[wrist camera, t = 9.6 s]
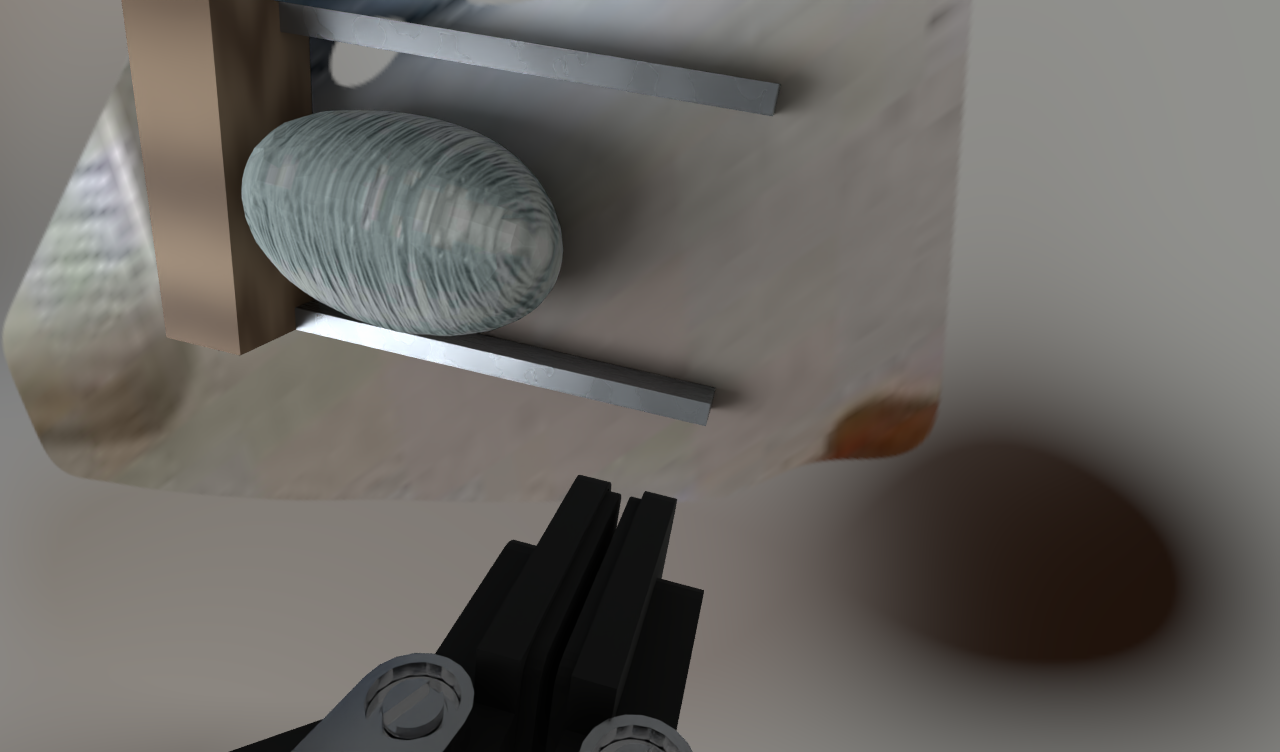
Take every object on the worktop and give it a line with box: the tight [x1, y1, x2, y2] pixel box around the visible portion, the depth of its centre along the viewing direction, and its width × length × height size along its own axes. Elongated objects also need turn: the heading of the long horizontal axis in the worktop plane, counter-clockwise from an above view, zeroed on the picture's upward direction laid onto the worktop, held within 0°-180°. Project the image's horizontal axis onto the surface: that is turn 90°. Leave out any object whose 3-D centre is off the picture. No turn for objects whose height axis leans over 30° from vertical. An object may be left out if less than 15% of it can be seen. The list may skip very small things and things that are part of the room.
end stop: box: [122, 0, 315, 355], centre depth 33 cm, size 15×4×6 cm, turn 171°
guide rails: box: [279, 1, 781, 426], centre depth 33 cm, size 15×22×2 cm
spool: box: [242, 110, 563, 336], centre depth 31 cm, size 14×10×10 cm
